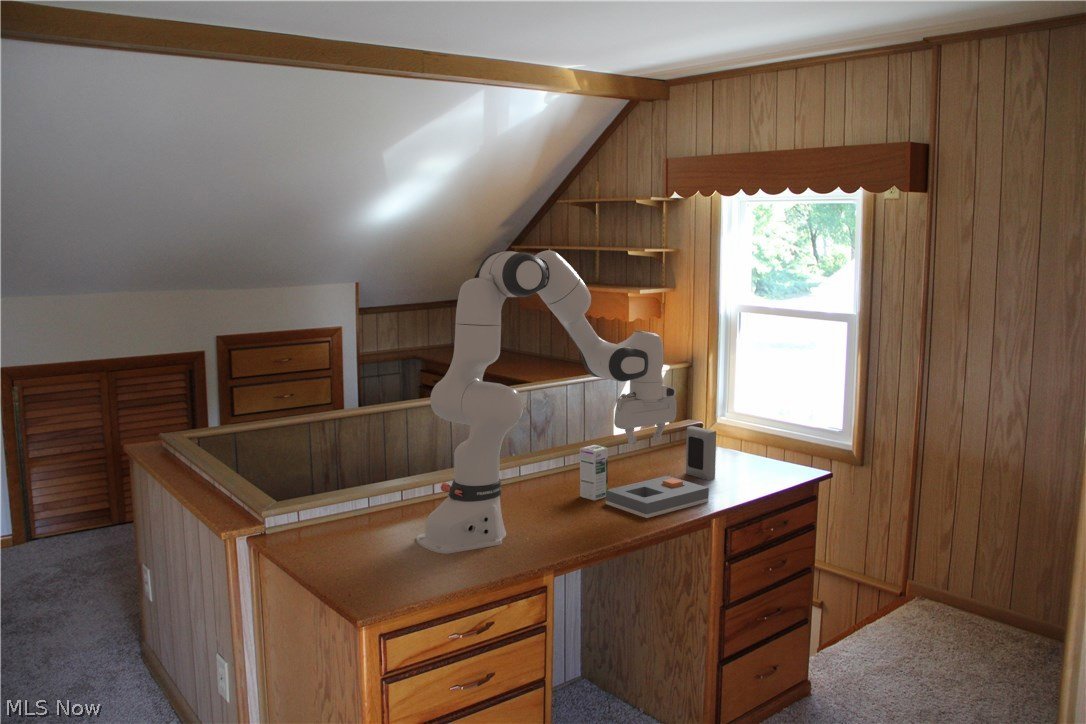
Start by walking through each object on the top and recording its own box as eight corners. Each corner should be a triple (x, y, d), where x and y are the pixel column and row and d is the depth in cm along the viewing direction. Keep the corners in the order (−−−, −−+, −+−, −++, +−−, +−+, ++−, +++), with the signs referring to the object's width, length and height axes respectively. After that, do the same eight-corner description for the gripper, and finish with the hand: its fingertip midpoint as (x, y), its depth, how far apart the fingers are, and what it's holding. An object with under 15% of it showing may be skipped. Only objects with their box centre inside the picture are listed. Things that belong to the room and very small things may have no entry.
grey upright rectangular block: (683, 475, 282) (684, 427, 280) (691, 473, 285) (692, 426, 282) (707, 481, 275) (708, 432, 273) (715, 479, 277) (716, 431, 275)
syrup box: (594, 501, 255) (595, 450, 253) (579, 497, 259) (579, 447, 257) (608, 497, 259) (608, 447, 257) (592, 493, 263) (593, 443, 261)
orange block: (672, 492, 254) (673, 483, 254) (662, 489, 257) (662, 480, 257) (682, 489, 256) (682, 481, 256) (672, 486, 260) (672, 478, 259)
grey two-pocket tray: (646, 518, 240) (646, 503, 239) (605, 504, 252) (605, 490, 252) (708, 501, 255) (708, 487, 254) (666, 488, 267) (667, 475, 266)
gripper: (625, 396, 237) (624, 448, 239) (680, 389, 249) (679, 438, 251) (609, 393, 242) (608, 444, 244) (664, 386, 254) (662, 434, 256)
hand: (644, 441), depth 248 cm, fingers open, 8 cm apart
